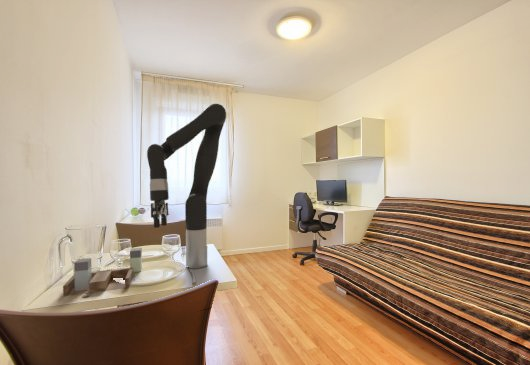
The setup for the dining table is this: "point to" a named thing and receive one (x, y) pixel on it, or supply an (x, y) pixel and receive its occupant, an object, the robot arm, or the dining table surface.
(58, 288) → the dining table surface
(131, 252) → the grey upright block
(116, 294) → the dining table surface
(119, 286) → the comb rack
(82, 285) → the block
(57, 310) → the dining table surface
